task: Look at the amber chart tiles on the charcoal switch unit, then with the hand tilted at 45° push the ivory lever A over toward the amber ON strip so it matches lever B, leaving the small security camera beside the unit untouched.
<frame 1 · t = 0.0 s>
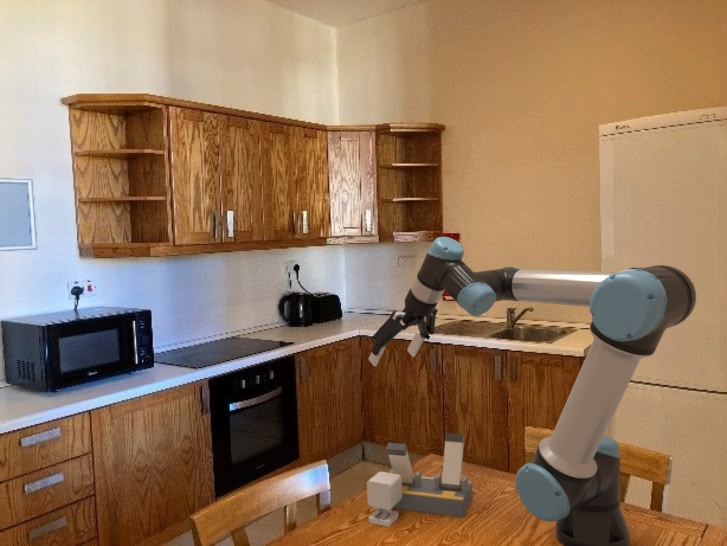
hand: (392, 357, 162), 36 cm above the table, tool tilted 35°, fingers open, 13 cm apart
lever A: (453, 461, 158), point 10 cm above the table, hinge at -28.0°
switch unit: (428, 502, 158), on the table
security camera: (385, 519, 151), on the table
lever B: (400, 464, 157), point 10 cm above the table, hinge at 28.0°
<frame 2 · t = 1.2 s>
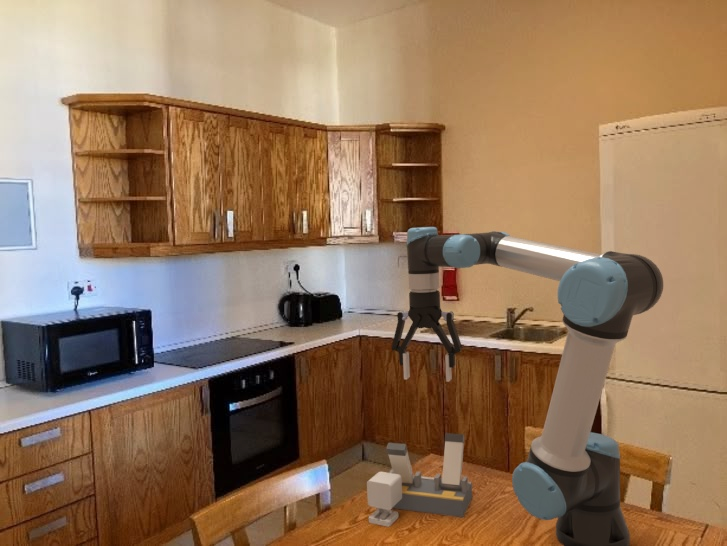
hand: (427, 379, 155), 32 cm above the table, tool pointing down, fingers open, 10 cm apart
nothing on the table moved.
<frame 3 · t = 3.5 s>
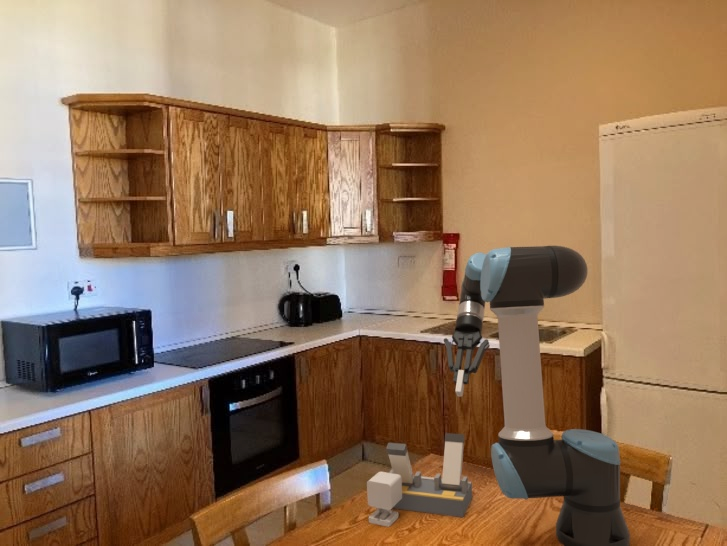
hand: (458, 393, 166), 25 cm above the table, tool tilted 45°, fingers closed
nothing on the table moved.
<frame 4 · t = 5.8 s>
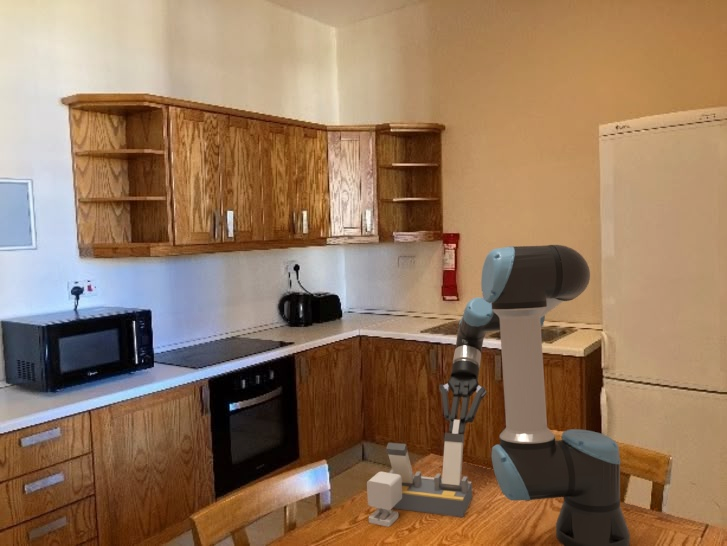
hand: (454, 445, 161), 13 cm above the table, tool tilted 45°, fingers closed
lever A: (452, 460, 157), point 10 cm above the table, hinge at -24.8°, touching gripper
everything else where it was.
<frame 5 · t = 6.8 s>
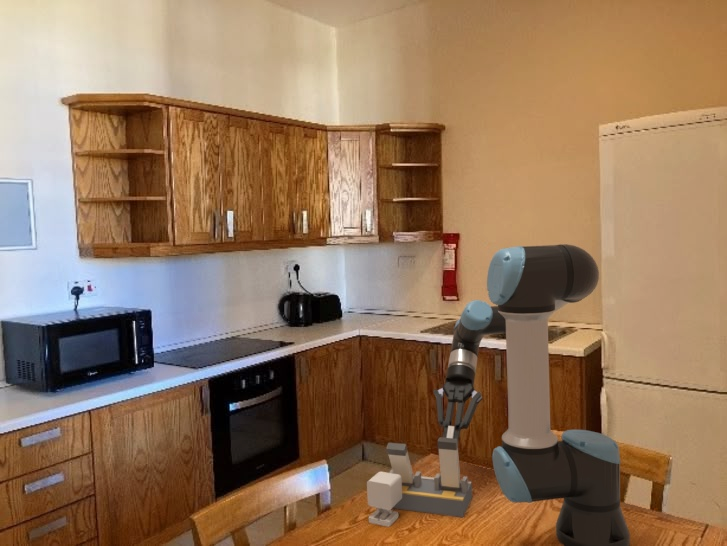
hand: (448, 452, 156), 13 cm above the table, tool tilted 45°, fingers closed
lever A: (449, 464, 154), point 11 cm above the table, hinge at 9.5°, touching gripper
everything else where it was.
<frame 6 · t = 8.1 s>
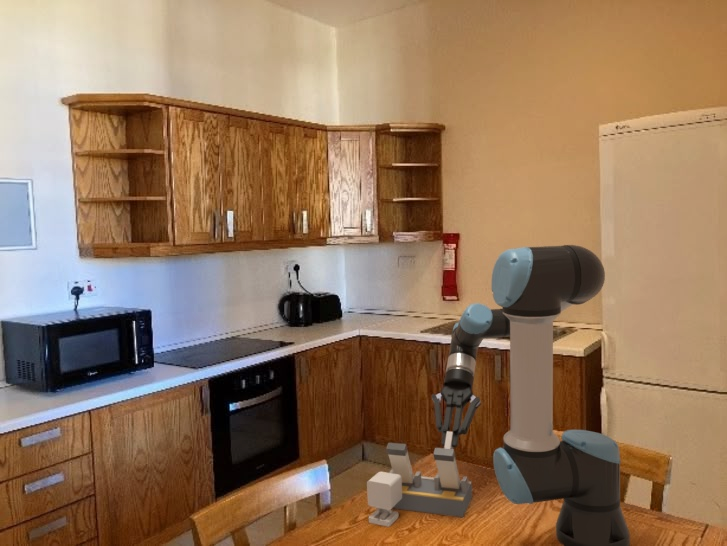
hand: (447, 458, 152), 13 cm above the table, tool tilted 45°, fingers closed
lever A: (447, 470, 152), point 10 cm above the table, hinge at 29.4°, touching gripper
everything else where it was.
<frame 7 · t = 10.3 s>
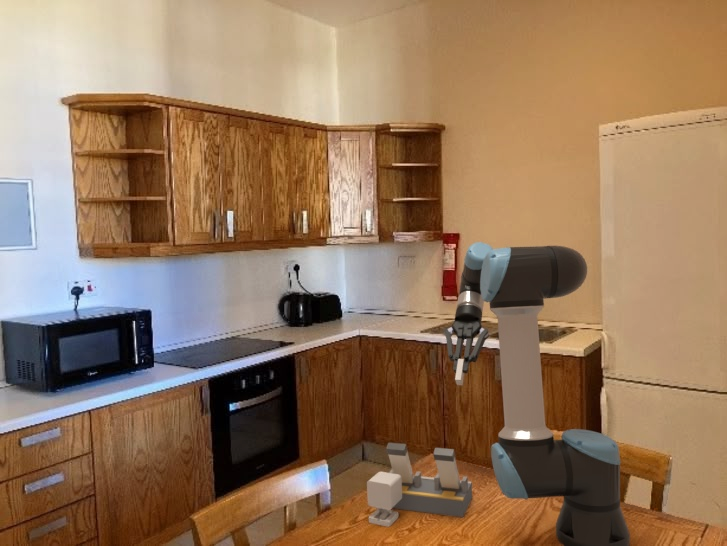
hand: (458, 382, 165), 28 cm above the table, tool tilted 45°, fingers closed
lever A: (447, 470, 152), point 10 cm above the table, hinge at 29.4°
everything else where it was.
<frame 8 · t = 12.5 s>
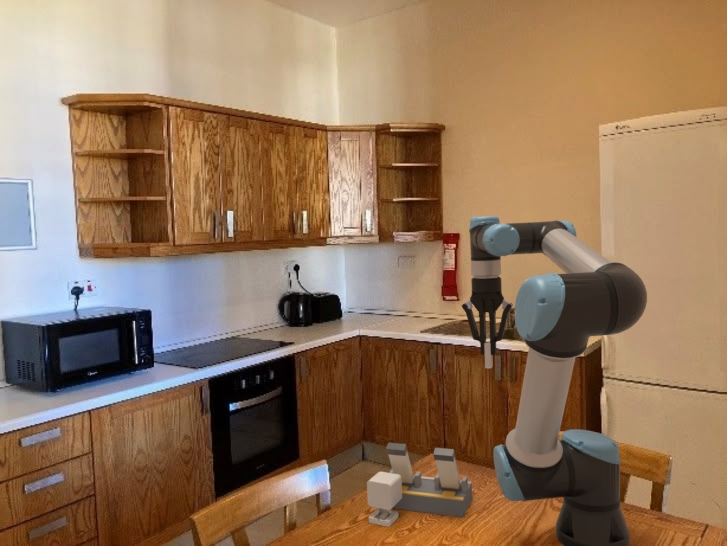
hand: (488, 367, 162), 32 cm above the table, tool pointing down, fingers closed
nothing on the table moved.
at the end: lever A at +29° (first picture: -28°); lever B at +28° (first picture: +28°); security camera moved 0.2 cm from its start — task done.
